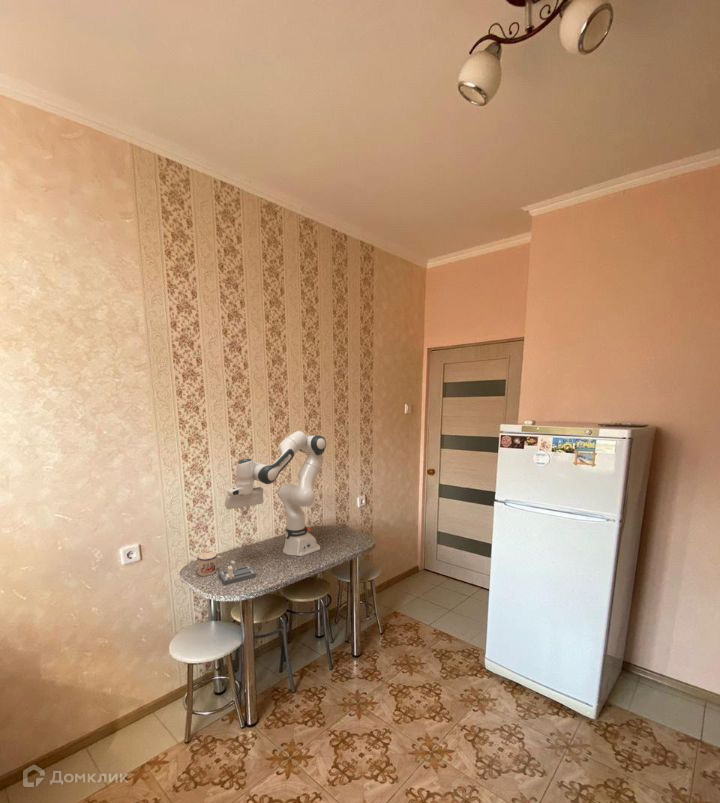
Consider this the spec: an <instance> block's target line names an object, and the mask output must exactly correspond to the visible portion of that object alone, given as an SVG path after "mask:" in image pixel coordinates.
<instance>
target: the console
mask: <svg viewBox="0 0 720 803" xmlns="http://www.w3.org/2000/svg"><path fill="white" fill-rule="evenodd" d="M236 565H237V564H236V561H235V560H230V566H231V567H232V568H233V575H234V577H232V578H228V579H227V577H226V574H227V571H228V569H226V570H223V571H222V570H221V571H218V578H219V579H220V581H221V582H222V584H223V586H227V585H231V584H235V583H239V582H242V581H245V580H249V579H254V578H257V572H256V571H255V570H254V568H253V567H252V566H251V565H250V564H247V565H243V566H239V567H236Z"/></svg>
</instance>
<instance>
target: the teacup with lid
mask: <svg viewBox="0 0 720 803" xmlns="http://www.w3.org/2000/svg"><path fill="white" fill-rule="evenodd" d="M197 559H198V566H197V567H198V570H197V574H198V576H201V577H210V576H212V575H214V574H215V573H216V572H217V567H218V566H220V565H221V564H222V562H223V557H222V556H221V555H217V553H216V552H215V551H210V549H206V550H205V551H204V552H202V553H199V555H198V556H197ZM217 559H220V561H219V563H217Z"/></svg>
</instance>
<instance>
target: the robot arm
mask: <svg viewBox="0 0 720 803" xmlns="http://www.w3.org/2000/svg"><path fill="white" fill-rule="evenodd" d="M326 447H327V440H326V438H325V437H324V436H322V435H314V434H313V435H306V434H305V433H304V432H303V431H301V430H297V431H294V432H292V433H291V434H290V435H288V436H286V437H285V438H284V439H282V441H281V442H280V443H279V445H278V452H279V454H280V456H279V457H278V458H277V459H276V460H275V461H274V462H273V463H272V464H265V463H261V462H258V461H254V460H253V459H252V458H243V459H241V460H239V461H238V462H237V465H236V484H235V486H233V487H231V488H228V489H227V491H226V492H227V494H226V496H225V502H224V505H225V506H224V507H225V509H227V510H232V509H240V511H241V515H242V516H243V515H249V510H250V508H251V506H254V505H255V506H256V505H260V504H261V505H262V504H263V503H264V488H263V487H261V486H257V487H256V486H255V487H254V482H255V481H258V482H260V483H263V484H264V485H270V484H272V483H273V484H274V482H276V479H277V478H278V477H279V475H280V473H281V472H282V471H283V470H284V469H285V468H286V467H287V465H288V464H289V463H290V462H292V460H293V459H294V456H295V455H296V454H297V453H298V452H299V451H300V452H301V453H305V454H307V456H306V459H305V460H304V462H303V464H302V466H301V468H300V469H299V471H298V473H297V477H298V479H299V483H298V484H297V485H295V484H283V485H282V486H281V487H280V488H279V490H278V498H279V499H280V500H281V502H282V504H283V507H284V510H285V515H286V519H285V521H286V523H285V524H286V526H285V530H284V535H285V536H284V538H285V540H284V545H283V549H282V553H283V554H285V555H287V556H296V557H303V556H306V555H309V554H312V553H314V552H317V551H320V550H321V545H320V544H318V543H317V539H316V537H315V536H313V535H312V534H311V533H309V532H311V529H312V528H310V527H308V526H306V514H305V512H304V510H303V509H302V508H303V507H307V508H308V507H311V506H312V505H313V504H314V502H315V499H316V495H315V492H314V484H315V481H316V479H317V477H318V475H319V473H320V470H321V469H322V466H323V464H324V460H325V457H324V455H323V454H324V453H325V450H326V449H327V448H326ZM245 507H246V508H245ZM244 508H245V510H243V509H244Z"/></svg>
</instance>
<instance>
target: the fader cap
mask: <svg viewBox="0 0 720 803" xmlns="http://www.w3.org/2000/svg"><path fill="white" fill-rule="evenodd" d="M227 570H228V571H227V574H226V577H227V579H228V578H232V577H234V575H233V568H232V567H231V565H228V566H227Z"/></svg>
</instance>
